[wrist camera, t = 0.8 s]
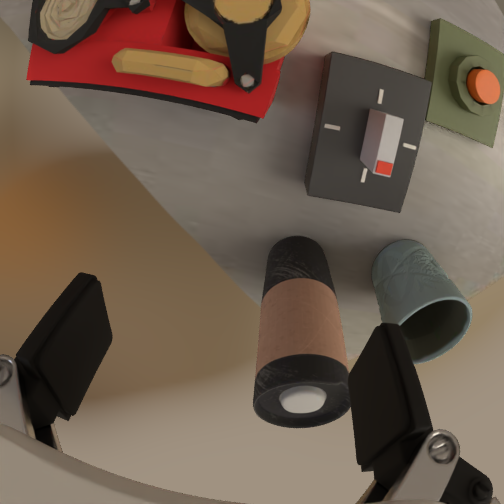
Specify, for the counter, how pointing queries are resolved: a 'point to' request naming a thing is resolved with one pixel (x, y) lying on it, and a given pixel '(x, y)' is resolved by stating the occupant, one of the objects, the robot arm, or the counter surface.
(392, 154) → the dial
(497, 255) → the counter surface
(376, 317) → the counter surface
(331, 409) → the travel mug
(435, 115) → the button block
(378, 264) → the teal embossed cup
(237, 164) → the counter surface
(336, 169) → the plate
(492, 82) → the button
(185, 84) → the red coffee machine
